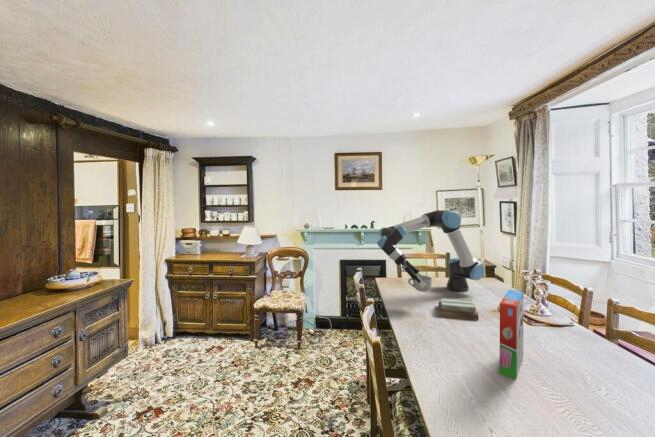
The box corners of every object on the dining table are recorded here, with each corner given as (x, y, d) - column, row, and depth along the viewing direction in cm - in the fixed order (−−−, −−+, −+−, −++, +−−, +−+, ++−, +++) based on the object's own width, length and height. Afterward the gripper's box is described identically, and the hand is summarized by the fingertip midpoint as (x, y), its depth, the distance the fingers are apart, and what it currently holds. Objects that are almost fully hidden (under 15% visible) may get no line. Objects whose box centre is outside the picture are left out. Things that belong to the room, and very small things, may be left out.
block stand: (438, 306, 184) (438, 296, 184) (474, 309, 177) (474, 299, 177) (439, 316, 167) (439, 306, 167) (478, 320, 160) (478, 309, 160)
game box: (508, 352, 126) (508, 289, 125) (523, 356, 122) (523, 291, 121) (499, 374, 110) (499, 302, 108) (516, 379, 106) (517, 305, 105)
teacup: (429, 287, 183) (429, 275, 182) (433, 293, 172) (433, 279, 172) (406, 287, 184) (406, 275, 184) (409, 292, 174) (409, 279, 173)
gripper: (395, 257, 194) (420, 282, 189) (391, 264, 172) (419, 293, 167) (404, 250, 192) (429, 275, 187) (400, 256, 170) (429, 284, 165)
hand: (424, 283), depth 177 cm, fingers closed on teacup, 11 cm apart
